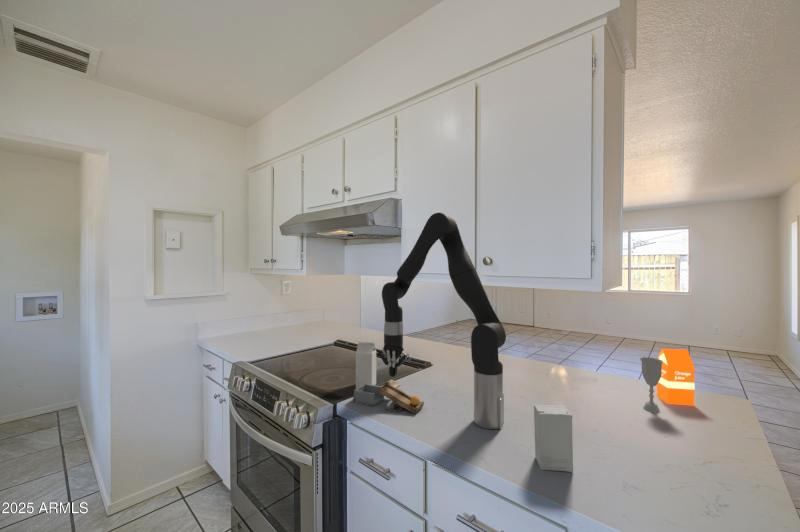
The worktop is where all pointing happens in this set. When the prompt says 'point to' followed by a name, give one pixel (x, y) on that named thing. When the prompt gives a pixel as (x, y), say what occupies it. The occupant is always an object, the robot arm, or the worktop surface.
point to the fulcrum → (394, 407)
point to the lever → (398, 396)
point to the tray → (367, 394)
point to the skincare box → (553, 437)
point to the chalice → (651, 379)
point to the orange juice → (676, 377)
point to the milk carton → (365, 364)
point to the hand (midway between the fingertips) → (393, 376)
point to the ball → (415, 400)
